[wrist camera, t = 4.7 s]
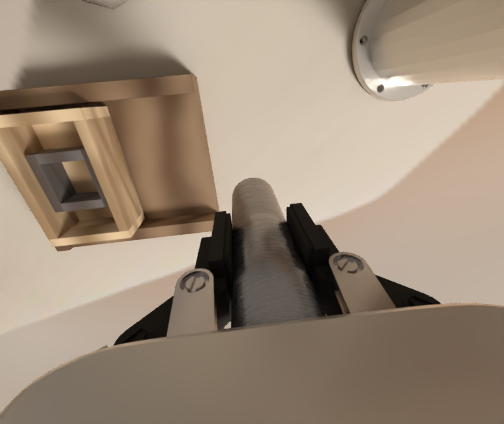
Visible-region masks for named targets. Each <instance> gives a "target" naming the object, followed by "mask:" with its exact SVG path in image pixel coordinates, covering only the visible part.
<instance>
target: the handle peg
mask: <svg viewBox="0 0 504 424" xmlns="http://www.w3.org/2000/svg"><path fill="white" fill-rule="evenodd" d="M232 229H233V231H232V288H231V328H236V327H244V326H252V325H260V324H268V323H276V322H284V321H292V320H300V319H309V318H317V317H325V316H326V314H325V312H324V310H323V307H322V305H321V303H320V300H319V298H318V296H317V293H316V291H315V289H314V286H313V284H312V281H311V279H310V277H309V274H308V272H307V270H306V267H305V265H304V263H303V260H302V258H301V255H300V253H299V251H298V248H297V246H296V244H295V241H294V239H293V237H292V234H291V232H290V230H289V227H288V225H287V222H286V220H285V218H284V215H283V213H282V211H281V208H280V206H279V204H278V201H277V199H276V196H275V194H274V192H273V189H272V187H271V186H270V185H269V184H268V183H267V182H266V181H264V180H262V179H259V178H248V179H245V180H243V181H241V182H240V183H239V184H238V185H237V186H236V187H235V189H234V191H233V195H232Z"/></svg>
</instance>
